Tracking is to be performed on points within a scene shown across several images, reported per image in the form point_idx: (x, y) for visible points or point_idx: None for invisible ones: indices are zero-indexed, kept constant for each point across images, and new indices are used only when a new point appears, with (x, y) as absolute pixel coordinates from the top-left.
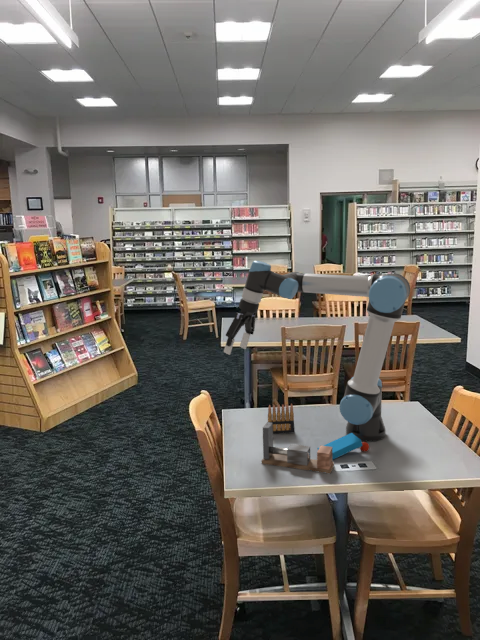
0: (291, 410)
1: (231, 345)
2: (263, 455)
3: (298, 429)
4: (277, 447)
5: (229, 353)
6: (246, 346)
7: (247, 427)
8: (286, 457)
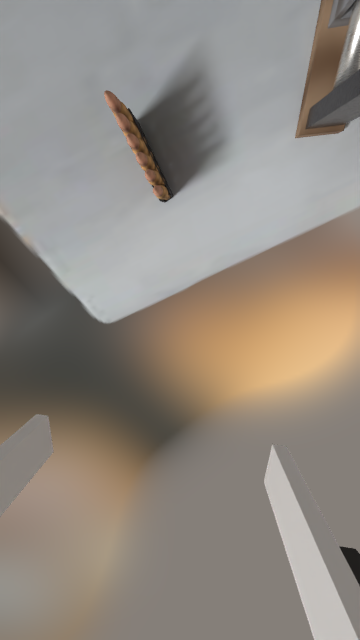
0: (120, 103)
1: (338, 555)
2: (349, 121)
3: (112, 118)
4: (356, 60)
5: (292, 457)
6: (22, 431)
7: (158, 258)
8: (328, 47)
